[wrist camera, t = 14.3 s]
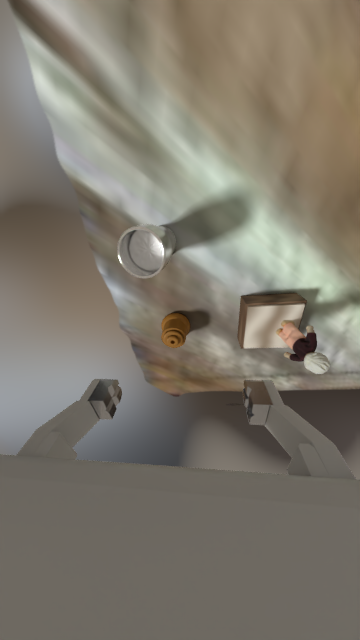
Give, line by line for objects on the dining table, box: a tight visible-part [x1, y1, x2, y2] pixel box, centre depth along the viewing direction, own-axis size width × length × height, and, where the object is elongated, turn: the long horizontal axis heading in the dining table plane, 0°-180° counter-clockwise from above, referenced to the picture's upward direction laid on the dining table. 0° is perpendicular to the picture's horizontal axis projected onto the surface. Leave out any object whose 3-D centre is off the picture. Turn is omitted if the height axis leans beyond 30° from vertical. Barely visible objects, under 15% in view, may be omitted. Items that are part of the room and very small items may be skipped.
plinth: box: [238, 293, 307, 348], centre depth 40 cm, size 12×12×5 cm
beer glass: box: [117, 224, 176, 278], centre depth 29 cm, size 7×7×15 cm
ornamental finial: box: [161, 313, 190, 348], centre depth 42 cm, size 8×8×8 cm
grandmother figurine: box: [276, 320, 330, 374], centre depth 32 cm, size 8×4×13 cm, turn 176°
